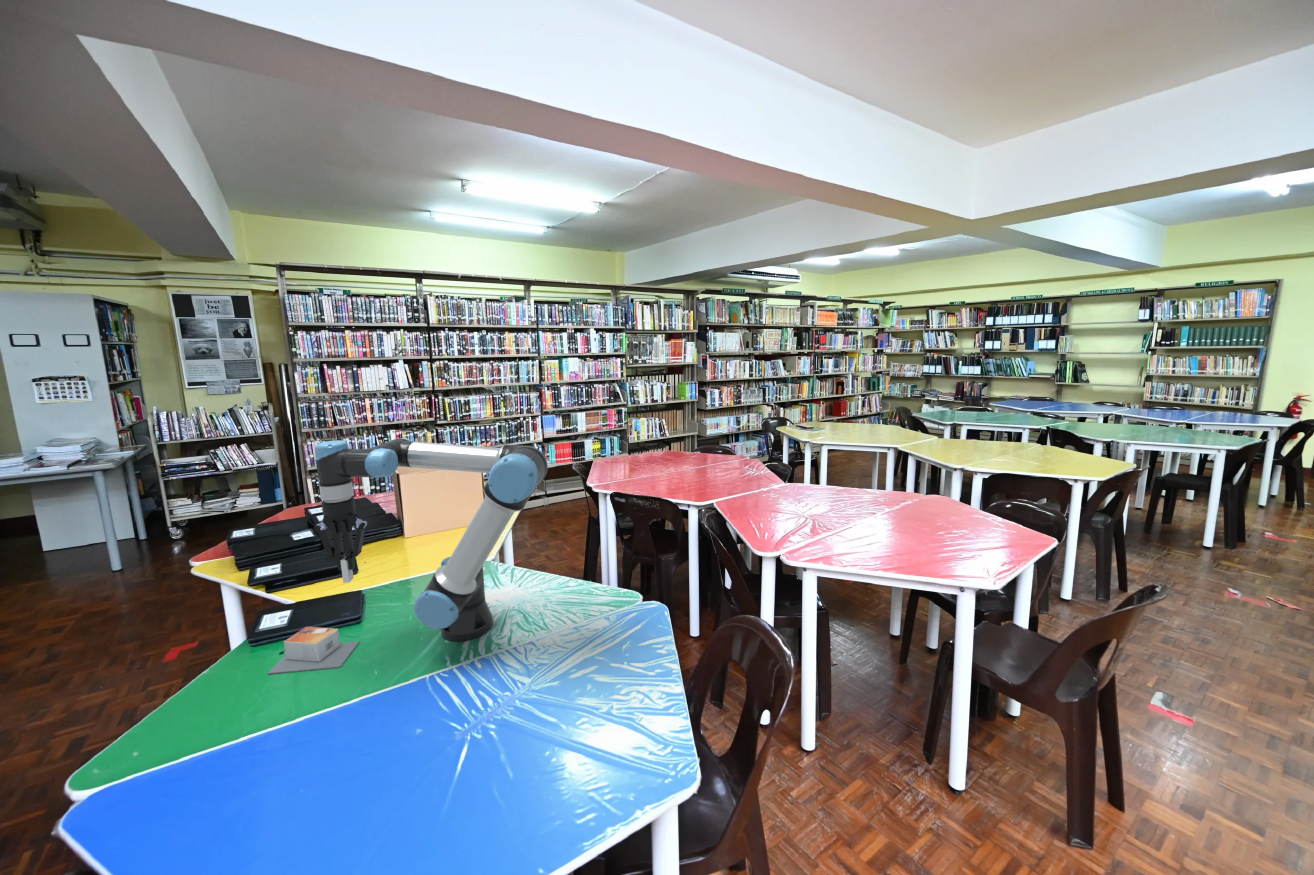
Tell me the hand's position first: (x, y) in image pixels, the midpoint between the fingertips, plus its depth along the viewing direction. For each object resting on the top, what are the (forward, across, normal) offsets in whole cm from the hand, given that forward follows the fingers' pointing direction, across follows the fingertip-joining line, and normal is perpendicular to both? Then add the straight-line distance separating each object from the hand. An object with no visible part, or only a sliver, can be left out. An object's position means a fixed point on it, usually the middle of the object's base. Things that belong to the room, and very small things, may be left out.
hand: (348, 580), depth 138 cm
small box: (+19, +7, -1) cm, 21 cm away
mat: (+22, +11, 0) cm, 25 cm away
